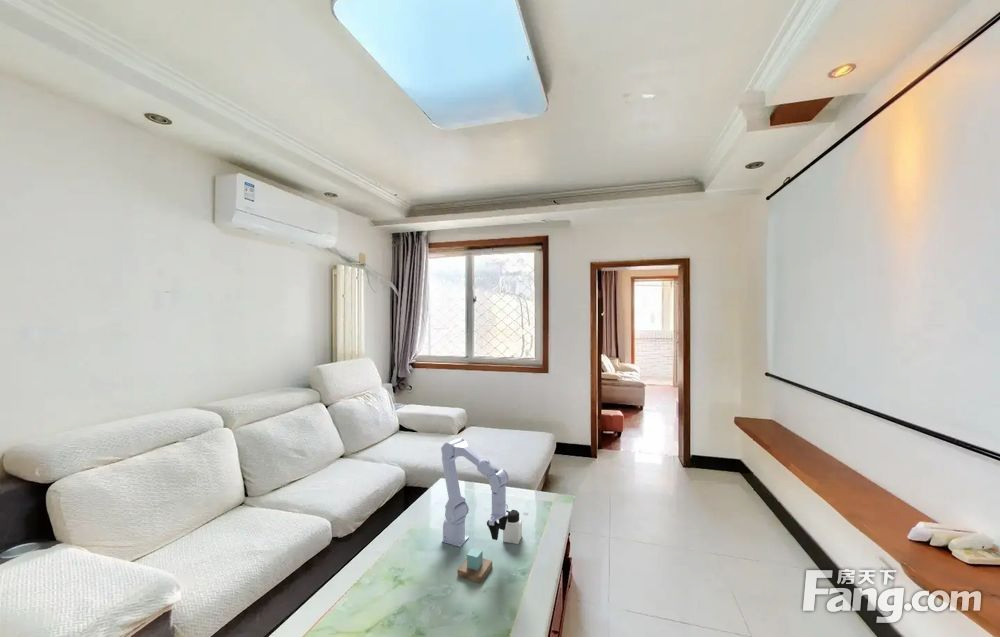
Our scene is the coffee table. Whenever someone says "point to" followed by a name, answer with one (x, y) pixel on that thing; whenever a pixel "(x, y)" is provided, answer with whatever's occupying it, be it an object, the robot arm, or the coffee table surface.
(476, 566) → the teal block
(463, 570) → the walnut slab
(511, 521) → the medicine bottle
